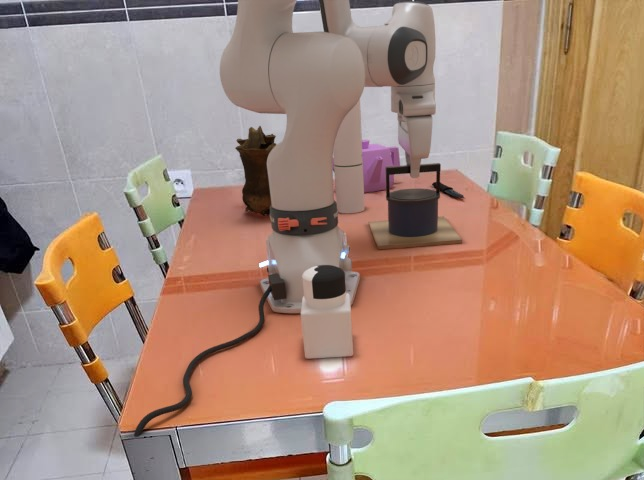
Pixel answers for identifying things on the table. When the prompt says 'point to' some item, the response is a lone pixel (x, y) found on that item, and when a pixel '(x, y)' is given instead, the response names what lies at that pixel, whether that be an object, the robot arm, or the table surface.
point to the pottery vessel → (256, 170)
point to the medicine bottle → (326, 313)
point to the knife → (448, 190)
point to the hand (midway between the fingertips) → (412, 175)
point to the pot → (413, 204)
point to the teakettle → (377, 165)
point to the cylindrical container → (349, 163)
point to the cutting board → (390, 241)
